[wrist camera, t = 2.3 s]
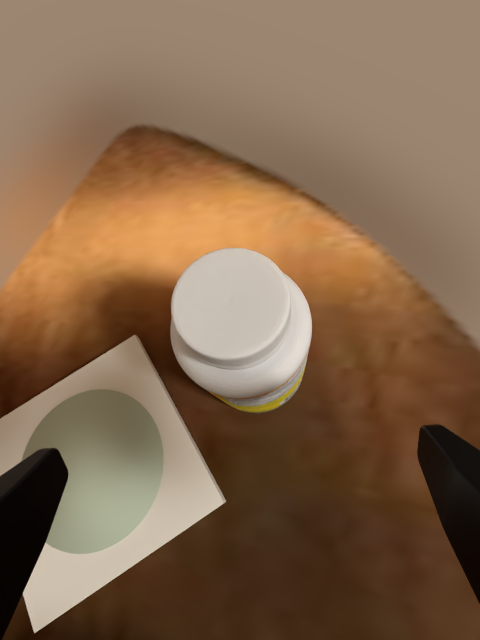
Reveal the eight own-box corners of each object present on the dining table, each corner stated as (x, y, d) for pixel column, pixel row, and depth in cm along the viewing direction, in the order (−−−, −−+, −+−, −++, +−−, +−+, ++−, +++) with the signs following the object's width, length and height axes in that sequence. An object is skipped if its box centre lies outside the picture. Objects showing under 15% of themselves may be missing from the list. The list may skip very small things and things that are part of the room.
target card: (226, 501, 18) (223, 503, 18) (42, 627, 17) (32, 634, 17) (138, 337, 22) (134, 334, 22) (-16, 433, 21) (-25, 433, 21)
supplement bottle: (207, 329, 22) (145, 238, 12) (295, 317, 21) (301, 213, 12) (214, 420, 20) (145, 396, 10) (311, 409, 19) (333, 373, 10)
